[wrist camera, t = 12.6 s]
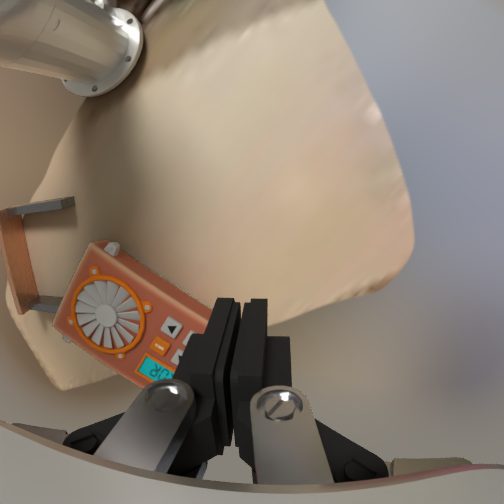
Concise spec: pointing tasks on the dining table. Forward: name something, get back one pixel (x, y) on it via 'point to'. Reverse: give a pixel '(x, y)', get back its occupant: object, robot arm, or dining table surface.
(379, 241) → the dining table surface
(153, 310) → the control panel
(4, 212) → the docking guide
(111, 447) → the robot arm
